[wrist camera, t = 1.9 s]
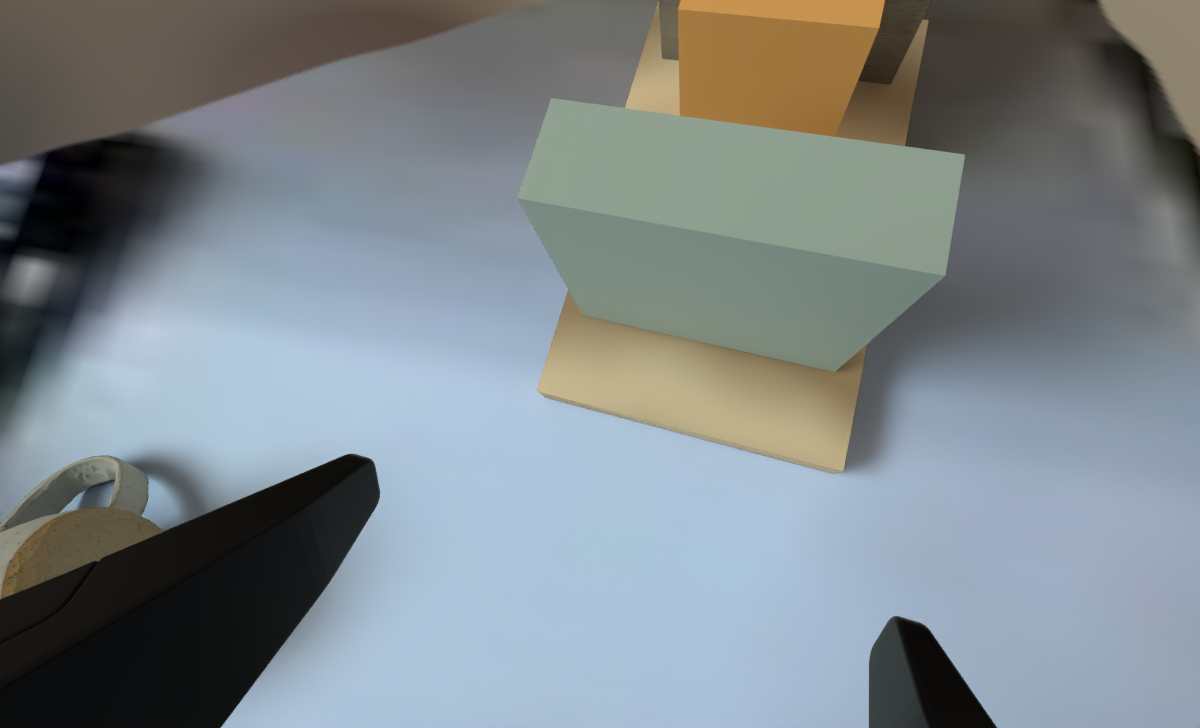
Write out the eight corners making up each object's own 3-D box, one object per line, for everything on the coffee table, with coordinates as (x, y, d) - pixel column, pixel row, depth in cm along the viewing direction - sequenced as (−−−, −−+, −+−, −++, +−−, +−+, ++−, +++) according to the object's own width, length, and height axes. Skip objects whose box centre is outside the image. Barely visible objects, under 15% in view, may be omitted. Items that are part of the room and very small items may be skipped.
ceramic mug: (216, 660, 23) (-7, 730, 16) (49, 730, 23) (-246, 830, 16) (184, 431, 26) (-13, 400, 19) (37, 496, 26) (-212, 490, 19)
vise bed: (832, 473, 21) (843, 471, 19) (545, 397, 23) (536, 390, 22) (914, 47, 25) (928, 19, 23) (661, 22, 27) (659, -4, 26)
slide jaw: (834, 372, 20) (945, 275, 11) (582, 315, 22) (517, 198, 14) (849, 298, 21) (965, 154, 12) (602, 250, 23) (551, 98, 14)
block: (821, 169, 22) (878, 27, 16) (680, 148, 24) (677, 9, 17) (834, 108, 23) (896, -54, 16) (696, 91, 24) (700, -66, 18)
